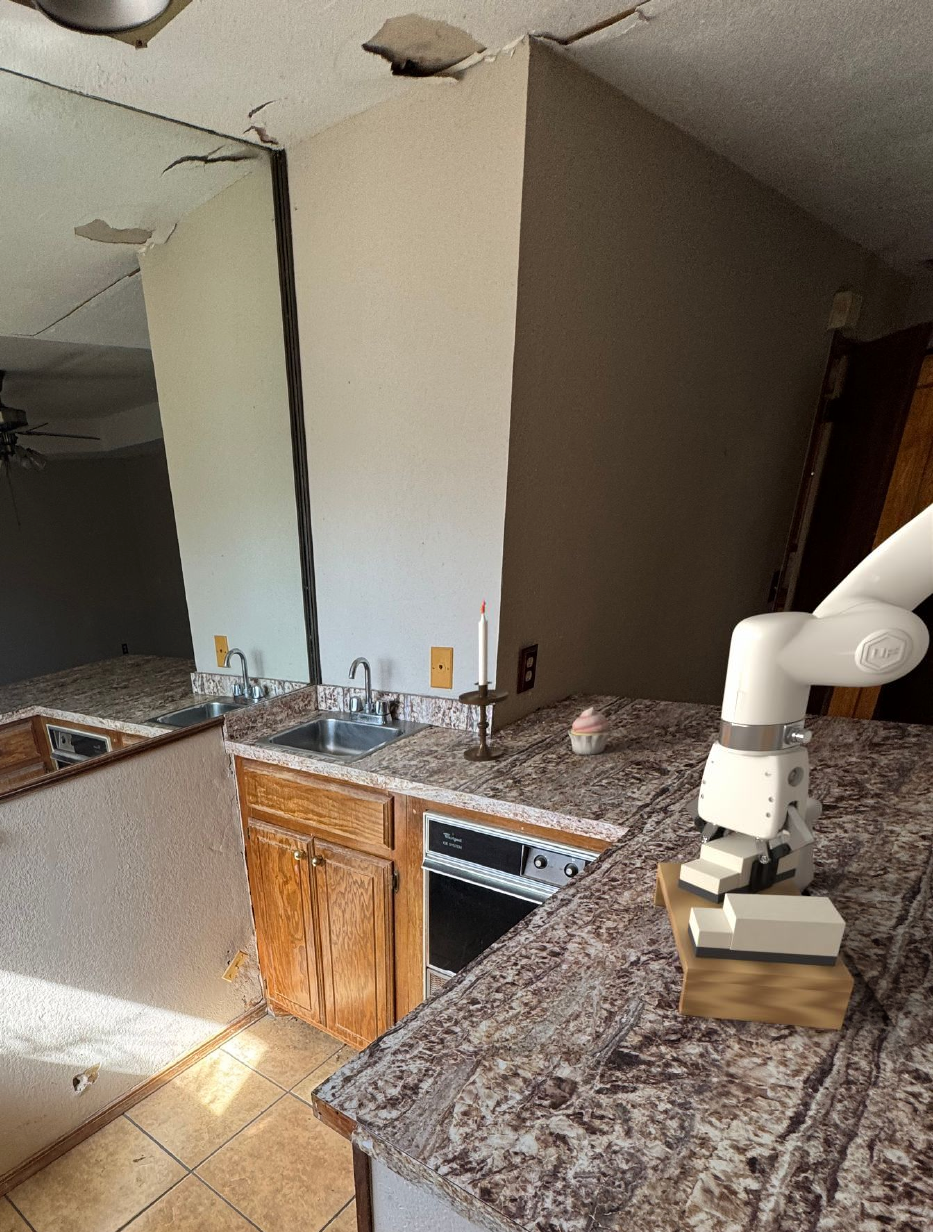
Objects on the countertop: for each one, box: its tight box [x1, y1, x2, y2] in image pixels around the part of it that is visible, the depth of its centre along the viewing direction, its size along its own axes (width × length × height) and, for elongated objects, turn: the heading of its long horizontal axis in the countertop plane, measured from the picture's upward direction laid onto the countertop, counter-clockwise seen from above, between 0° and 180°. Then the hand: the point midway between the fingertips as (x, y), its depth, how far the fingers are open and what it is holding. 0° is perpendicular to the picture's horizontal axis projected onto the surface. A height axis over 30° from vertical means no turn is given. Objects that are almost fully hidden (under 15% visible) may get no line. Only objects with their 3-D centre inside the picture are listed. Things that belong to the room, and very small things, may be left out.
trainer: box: [678, 831, 800, 904], centre depth 83 cm, size 12×6×5 cm, turn 109°
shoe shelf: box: [653, 861, 856, 1031], centre depth 81 cm, size 14×26×6 cm, turn 159°
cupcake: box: [567, 706, 614, 756], centre depth 154 cm, size 9×9×10 cm
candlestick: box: [458, 599, 509, 762], centre depth 156 cm, size 11×11×35 cm
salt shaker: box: [783, 796, 823, 894], centre depth 90 cm, size 6×6×13 cm
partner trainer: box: [688, 893, 847, 966], centre depth 72 cm, size 12×6×5 cm, turn 69°
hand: (736, 878), depth 83 cm, fingers closed on trainer, 5 cm apart
